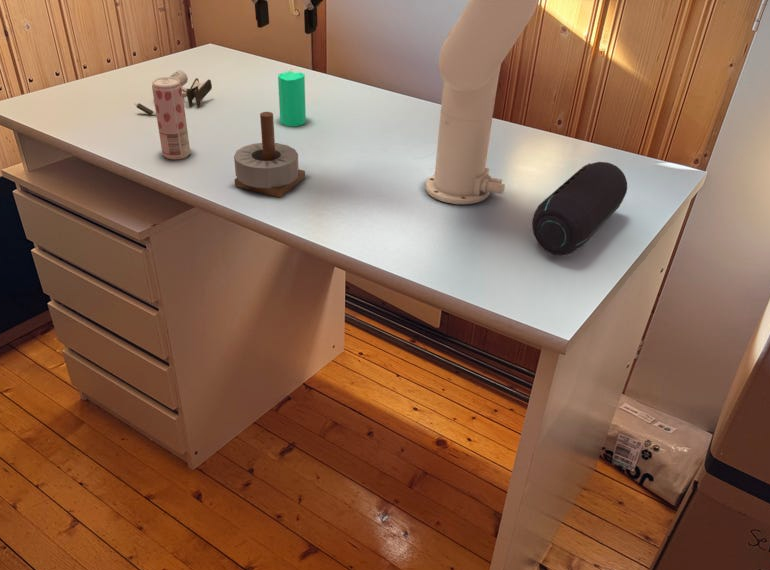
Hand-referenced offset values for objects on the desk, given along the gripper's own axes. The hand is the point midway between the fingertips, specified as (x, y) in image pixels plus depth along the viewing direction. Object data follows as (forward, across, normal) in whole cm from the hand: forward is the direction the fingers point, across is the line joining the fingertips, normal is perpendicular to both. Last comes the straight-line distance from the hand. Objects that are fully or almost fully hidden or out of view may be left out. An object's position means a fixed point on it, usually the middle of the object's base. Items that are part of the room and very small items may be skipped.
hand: (286, 29), depth 128 cm
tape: (+25, -2, -8) cm, 26 cm away
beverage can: (+26, -25, -5) cm, 37 cm away
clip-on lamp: (+26, -43, +18) cm, 53 cm away
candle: (+27, -12, +23) cm, 37 cm away
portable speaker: (+28, +57, -1) cm, 64 cm away
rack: (+27, -1, -8) cm, 28 cm away
